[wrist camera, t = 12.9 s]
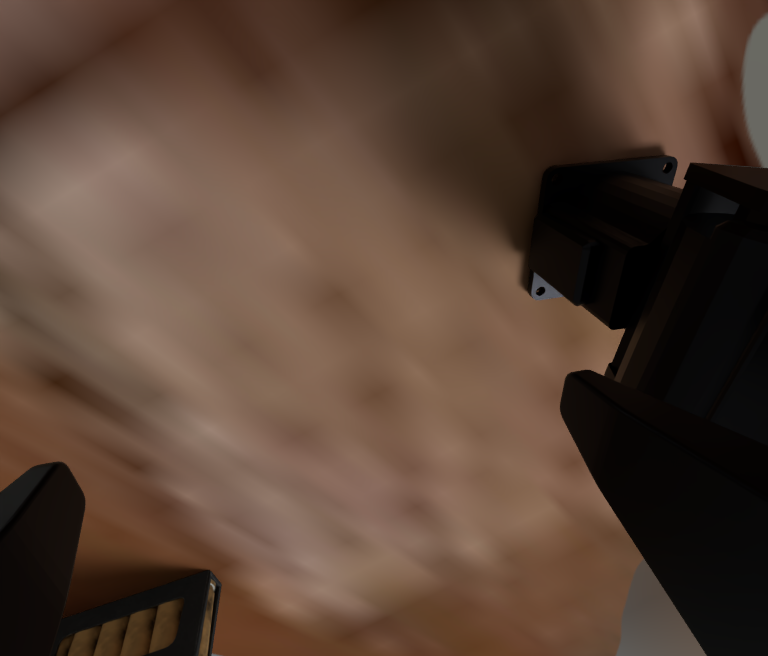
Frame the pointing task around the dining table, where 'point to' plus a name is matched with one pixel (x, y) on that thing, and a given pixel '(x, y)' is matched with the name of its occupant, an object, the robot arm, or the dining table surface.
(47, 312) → the dining table surface
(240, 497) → the dining table surface
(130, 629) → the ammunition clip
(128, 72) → the dining table surface
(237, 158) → the dining table surface
